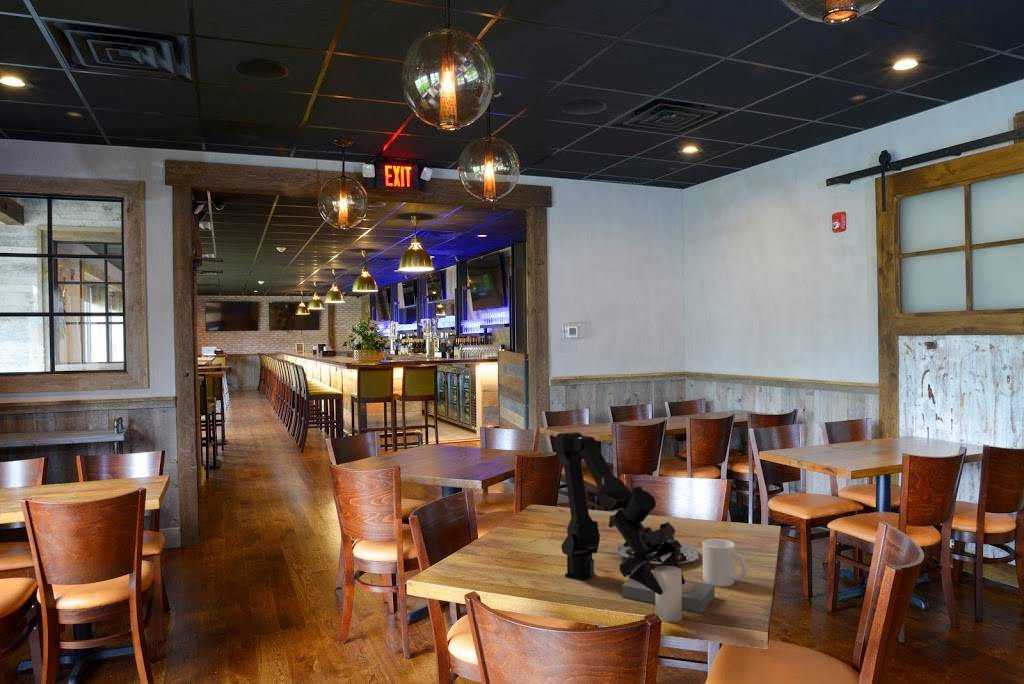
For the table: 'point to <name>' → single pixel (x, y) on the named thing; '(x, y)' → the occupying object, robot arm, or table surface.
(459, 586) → the table surface
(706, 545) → the mug
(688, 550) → the food plate
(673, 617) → the canister
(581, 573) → the robot arm
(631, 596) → the plinth
